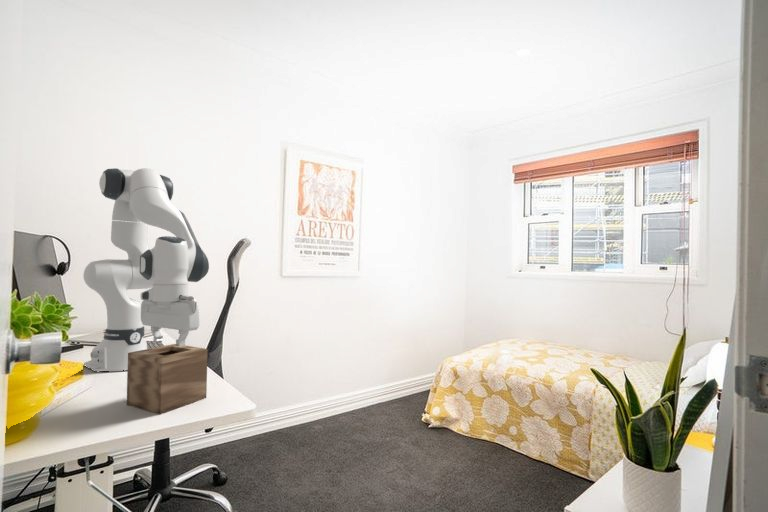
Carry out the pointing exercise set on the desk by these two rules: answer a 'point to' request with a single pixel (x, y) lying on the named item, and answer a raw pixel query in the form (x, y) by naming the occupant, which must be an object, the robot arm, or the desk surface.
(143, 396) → the slot box
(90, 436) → the desk surface
